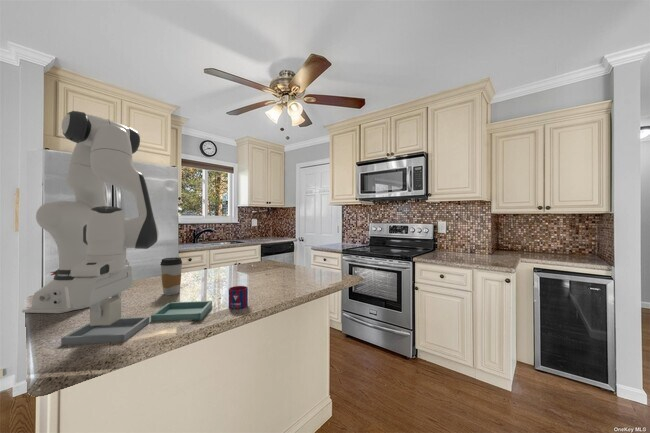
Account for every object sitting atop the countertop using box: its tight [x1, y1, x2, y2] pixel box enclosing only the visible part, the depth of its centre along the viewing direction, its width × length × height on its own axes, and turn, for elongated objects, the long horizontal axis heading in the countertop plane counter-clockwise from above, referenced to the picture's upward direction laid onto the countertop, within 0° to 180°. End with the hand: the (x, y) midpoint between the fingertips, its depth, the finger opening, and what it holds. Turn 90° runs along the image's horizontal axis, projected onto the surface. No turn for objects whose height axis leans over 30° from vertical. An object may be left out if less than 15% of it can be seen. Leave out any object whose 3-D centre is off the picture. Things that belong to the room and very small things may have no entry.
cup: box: [228, 285, 249, 310], centre depth 104 cm, size 7×10×7 cm
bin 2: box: [150, 300, 213, 322], centre depth 94 cm, size 15×13×2 cm
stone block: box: [89, 297, 122, 326], centre depth 78 cm, size 5×5×6 cm
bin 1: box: [60, 316, 150, 346], centre depth 78 cm, size 15×13×2 cm
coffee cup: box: [160, 256, 183, 296], centre depth 120 cm, size 8×8×15 cm
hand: (105, 313), depth 78 cm, fingers closed on stone block, 5 cm apart
